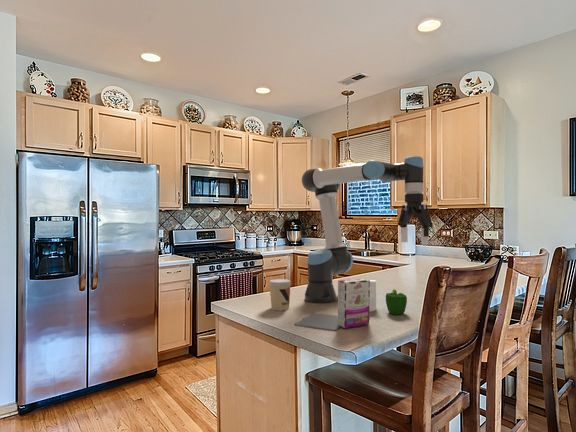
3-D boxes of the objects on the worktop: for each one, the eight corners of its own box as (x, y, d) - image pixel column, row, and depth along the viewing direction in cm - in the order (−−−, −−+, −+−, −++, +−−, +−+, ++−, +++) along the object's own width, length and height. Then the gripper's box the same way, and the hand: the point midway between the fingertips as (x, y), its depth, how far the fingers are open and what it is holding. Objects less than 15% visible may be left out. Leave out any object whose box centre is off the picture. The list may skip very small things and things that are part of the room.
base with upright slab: (356, 311, 147) (356, 282, 147) (353, 306, 156) (353, 279, 156) (378, 311, 147) (377, 282, 147) (374, 306, 156) (373, 278, 156)
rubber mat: (294, 325, 130) (294, 324, 130) (312, 313, 145) (312, 312, 145) (335, 331, 122) (335, 329, 122) (350, 318, 137) (350, 317, 137)
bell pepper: (394, 309, 149) (394, 285, 149) (411, 313, 142) (410, 289, 142) (380, 312, 145) (380, 288, 145) (396, 317, 138) (396, 291, 138)
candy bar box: (360, 321, 133) (362, 277, 133) (369, 325, 129) (370, 280, 128) (336, 324, 128) (337, 279, 128) (344, 329, 123) (345, 282, 123)
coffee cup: (283, 312, 148) (283, 283, 148) (265, 309, 153) (265, 281, 153) (294, 307, 156) (294, 279, 156) (277, 304, 161) (277, 278, 161)
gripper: (442, 191, 139) (442, 245, 139) (403, 195, 163) (404, 241, 163) (426, 191, 137) (426, 246, 137) (389, 194, 161) (389, 241, 161)
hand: (414, 243), depth 150 cm, fingers open, 13 cm apart
